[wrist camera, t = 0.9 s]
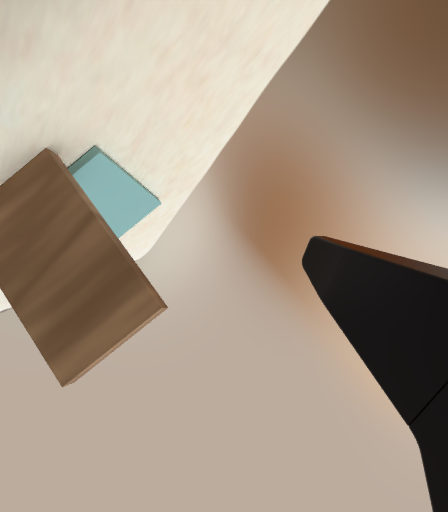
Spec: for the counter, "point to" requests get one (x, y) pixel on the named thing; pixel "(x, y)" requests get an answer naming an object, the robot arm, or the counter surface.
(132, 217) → the mat
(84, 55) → the counter surface
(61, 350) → the walnut tile
